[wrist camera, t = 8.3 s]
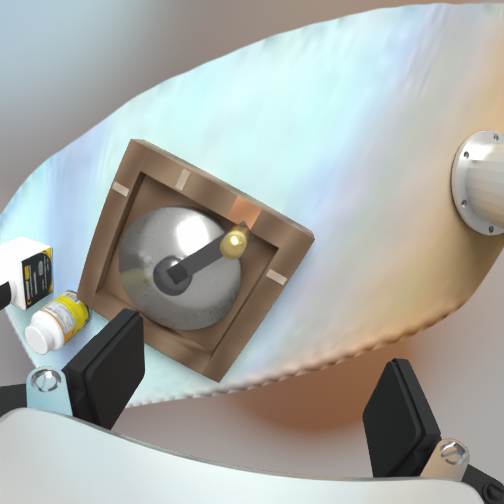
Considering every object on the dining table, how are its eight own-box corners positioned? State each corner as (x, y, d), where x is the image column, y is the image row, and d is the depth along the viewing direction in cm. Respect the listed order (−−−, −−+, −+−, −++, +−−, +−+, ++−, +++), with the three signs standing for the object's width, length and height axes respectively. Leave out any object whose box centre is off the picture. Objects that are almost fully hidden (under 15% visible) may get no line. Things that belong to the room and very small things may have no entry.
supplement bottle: (72, 324, 41) (33, 360, 31) (58, 291, 39) (13, 322, 30) (98, 321, 40) (59, 360, 30) (83, 285, 38) (38, 318, 29)
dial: (171, 340, 37) (150, 374, 31) (104, 247, 35) (69, 267, 28) (287, 278, 33) (287, 309, 27) (214, 165, 31) (194, 168, 24)
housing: (312, 231, 33) (315, 239, 30) (223, 367, 39) (218, 383, 36) (144, 139, 32) (130, 138, 29) (88, 288, 38) (75, 298, 35)
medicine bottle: (54, 291, 39) (1, 328, 28) (23, 278, 40) (-29, 308, 28) (53, 246, 37) (-7, 276, 26) (21, 235, 37) (-37, 259, 26)
